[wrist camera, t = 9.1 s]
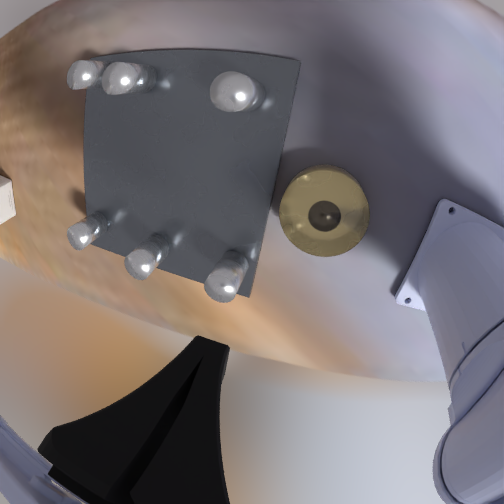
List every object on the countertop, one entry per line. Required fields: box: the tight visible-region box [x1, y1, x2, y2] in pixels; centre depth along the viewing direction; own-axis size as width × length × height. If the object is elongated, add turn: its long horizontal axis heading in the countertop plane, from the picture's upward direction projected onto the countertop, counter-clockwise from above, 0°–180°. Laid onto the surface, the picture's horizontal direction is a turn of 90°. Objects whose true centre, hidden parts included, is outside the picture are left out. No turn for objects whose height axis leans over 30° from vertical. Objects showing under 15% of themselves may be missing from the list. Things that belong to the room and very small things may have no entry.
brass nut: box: [279, 165, 370, 257], centre depth 16 cm, size 5×5×2 cm
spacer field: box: [67, 50, 301, 303], centre depth 16 cm, size 15×16×4 cm
